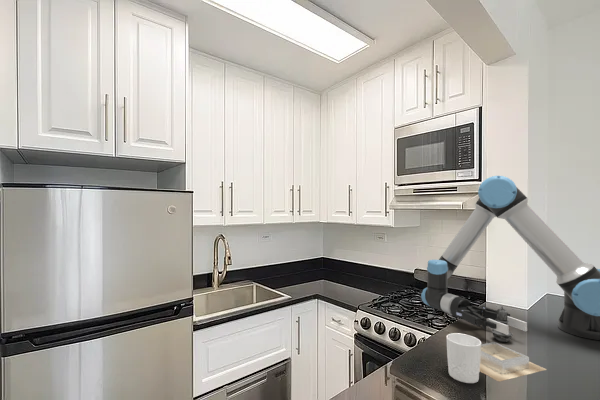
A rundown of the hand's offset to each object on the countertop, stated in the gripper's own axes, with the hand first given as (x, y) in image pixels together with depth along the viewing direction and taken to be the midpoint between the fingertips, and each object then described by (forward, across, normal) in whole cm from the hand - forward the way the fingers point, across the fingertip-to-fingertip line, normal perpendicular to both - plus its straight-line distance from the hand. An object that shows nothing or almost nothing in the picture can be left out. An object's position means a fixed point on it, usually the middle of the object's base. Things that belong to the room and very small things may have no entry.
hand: (516, 328), depth 97 cm
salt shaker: (-5, 0, -7) cm, 8 cm away
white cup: (+7, +30, -7) cm, 32 cm away
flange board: (+5, +15, -6) cm, 17 cm away
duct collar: (+5, +15, -6) cm, 17 cm away
